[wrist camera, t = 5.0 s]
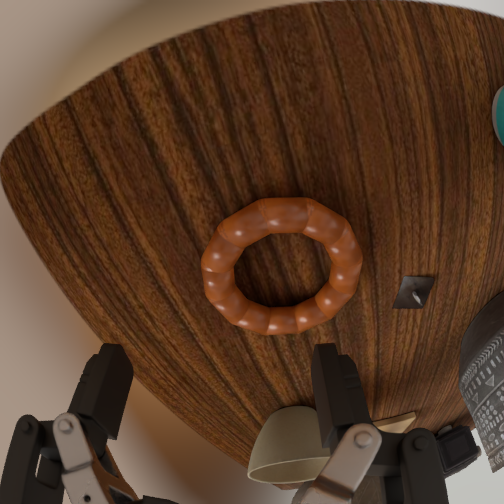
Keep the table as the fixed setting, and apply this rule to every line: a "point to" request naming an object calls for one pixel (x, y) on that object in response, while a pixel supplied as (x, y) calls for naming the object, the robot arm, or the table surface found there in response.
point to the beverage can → (498, 114)
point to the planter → (485, 377)
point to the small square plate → (413, 292)
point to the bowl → (365, 496)
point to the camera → (456, 449)
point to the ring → (281, 221)
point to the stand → (395, 423)
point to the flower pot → (288, 448)
